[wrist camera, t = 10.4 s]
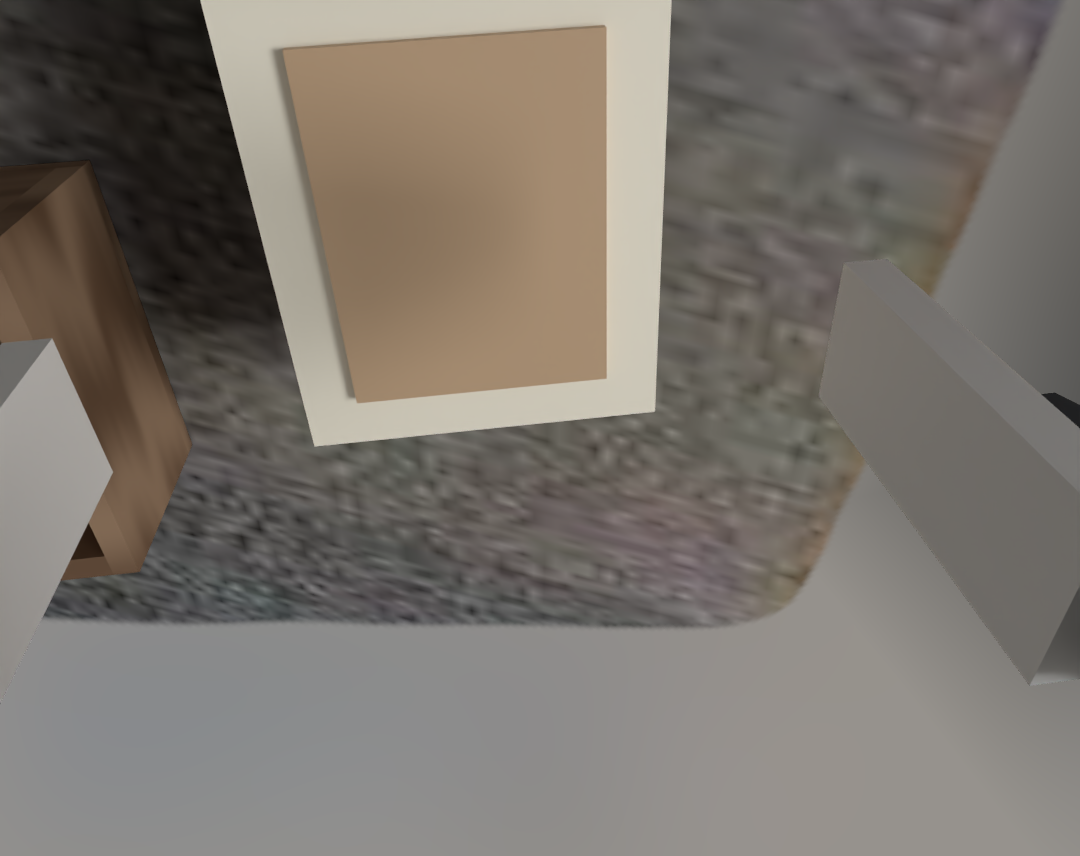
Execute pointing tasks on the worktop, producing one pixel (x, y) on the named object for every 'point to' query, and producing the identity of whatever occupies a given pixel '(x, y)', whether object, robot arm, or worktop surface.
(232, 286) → the worktop surface
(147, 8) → the worktop surface
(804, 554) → the worktop surface
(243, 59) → the lid
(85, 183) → the box
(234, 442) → the worktop surface
